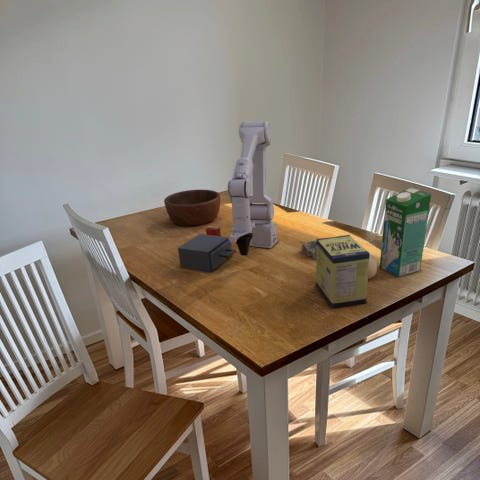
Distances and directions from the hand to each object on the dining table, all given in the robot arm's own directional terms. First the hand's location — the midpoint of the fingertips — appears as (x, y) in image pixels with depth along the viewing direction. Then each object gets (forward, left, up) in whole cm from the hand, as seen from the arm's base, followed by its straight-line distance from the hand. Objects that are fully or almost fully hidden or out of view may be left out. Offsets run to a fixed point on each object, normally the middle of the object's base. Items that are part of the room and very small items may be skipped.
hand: (244, 254), depth 155 cm
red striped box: (+21, -15, -5) cm, 26 cm away
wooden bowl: (+46, -40, -5) cm, 61 cm away
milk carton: (-49, -15, -5) cm, 51 cm away
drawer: (+12, 0, -4) cm, 13 cm away
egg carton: (-19, -19, -5) cm, 27 cm away
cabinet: (+16, 0, -5) cm, 17 cm away
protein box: (-36, +8, -5) cm, 37 cm away
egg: (-41, -5, -5) cm, 42 cm away
